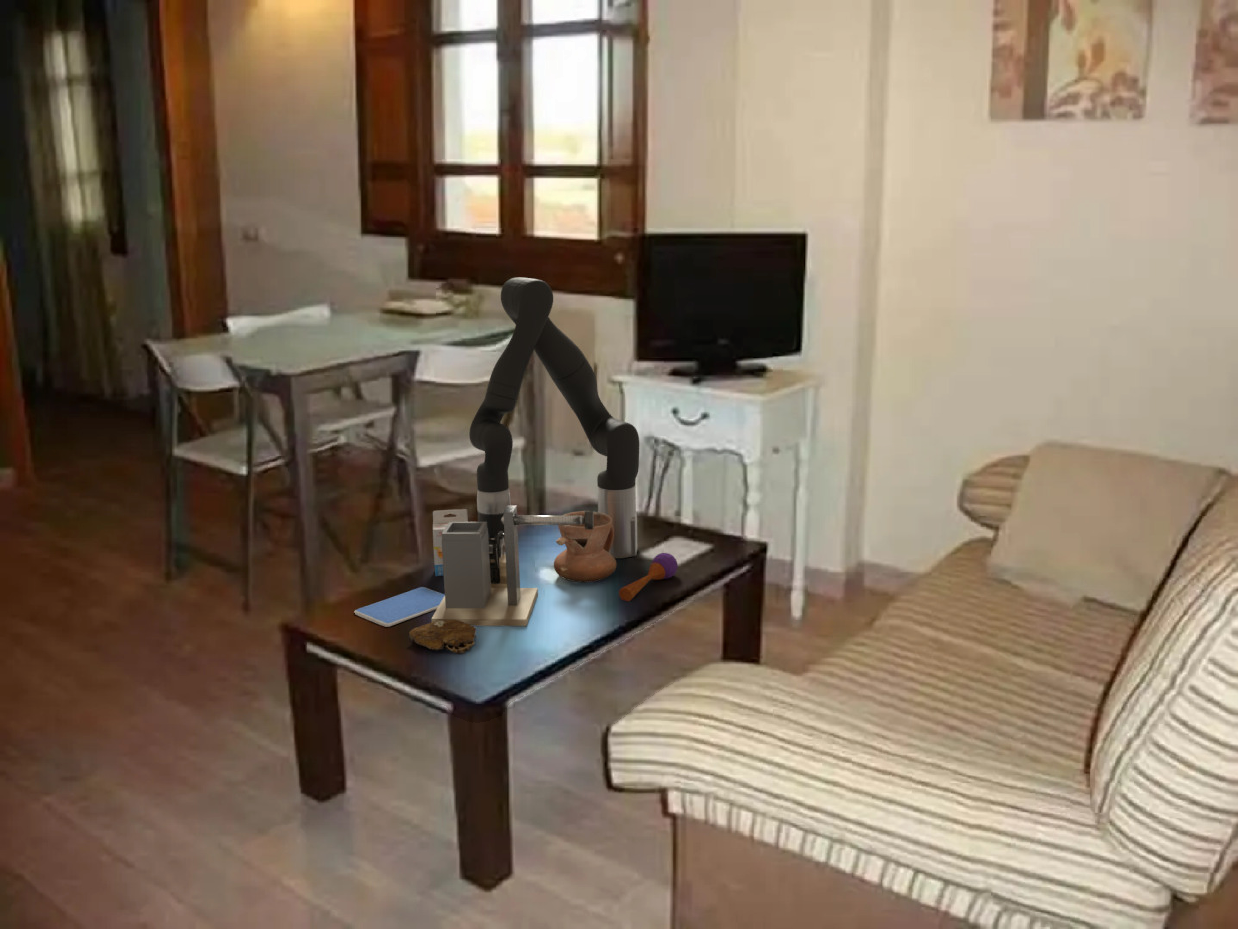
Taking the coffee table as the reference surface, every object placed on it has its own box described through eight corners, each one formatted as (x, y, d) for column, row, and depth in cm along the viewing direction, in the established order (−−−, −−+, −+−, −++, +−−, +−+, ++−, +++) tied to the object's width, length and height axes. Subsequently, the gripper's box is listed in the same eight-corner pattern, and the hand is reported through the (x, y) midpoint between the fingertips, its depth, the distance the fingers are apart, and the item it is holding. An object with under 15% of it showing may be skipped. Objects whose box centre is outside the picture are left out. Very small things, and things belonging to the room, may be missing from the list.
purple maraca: (611, 582, 262) (657, 549, 277) (617, 607, 263) (662, 573, 279) (633, 582, 258) (679, 548, 274) (639, 607, 260) (684, 573, 275)
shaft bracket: (520, 597, 260) (516, 505, 255) (517, 605, 255) (512, 512, 250) (511, 597, 260) (507, 505, 255) (508, 605, 256) (503, 512, 250)
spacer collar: (512, 580, 275) (510, 554, 273) (508, 589, 269) (506, 562, 268) (488, 580, 275) (486, 554, 273) (483, 589, 270) (482, 562, 268)
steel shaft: (593, 526, 254) (593, 508, 253) (592, 532, 250) (591, 514, 249) (503, 526, 256) (502, 508, 255) (500, 532, 252) (499, 514, 251)
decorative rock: (494, 645, 241) (441, 631, 250) (494, 625, 240) (440, 612, 249) (455, 661, 232) (401, 646, 241) (454, 641, 231) (400, 627, 240)
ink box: (435, 577, 278) (431, 516, 274) (435, 569, 283) (431, 510, 279) (471, 574, 279) (468, 514, 275) (471, 567, 284) (467, 508, 280)
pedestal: (491, 594, 262) (487, 521, 258) (484, 608, 254) (480, 533, 250) (453, 593, 263) (449, 521, 259) (445, 608, 255) (441, 533, 250)
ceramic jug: (581, 594, 265) (581, 533, 262) (537, 578, 275) (536, 519, 271) (635, 574, 278) (636, 516, 274) (591, 559, 288) (591, 503, 284)
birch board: (537, 594, 266) (537, 588, 265) (526, 626, 248) (526, 619, 248) (449, 593, 267) (449, 587, 267) (431, 625, 250) (431, 618, 249)
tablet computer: (423, 590, 271) (422, 585, 271) (459, 603, 263) (458, 598, 263) (352, 615, 257) (352, 610, 257) (388, 630, 249) (387, 624, 249)
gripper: (505, 517, 260) (509, 590, 265) (515, 498, 274) (518, 567, 278) (471, 517, 261) (475, 589, 265) (483, 498, 275) (487, 567, 279)
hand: (497, 578), depth 272 cm, fingers closed on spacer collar, 5 cm apart
